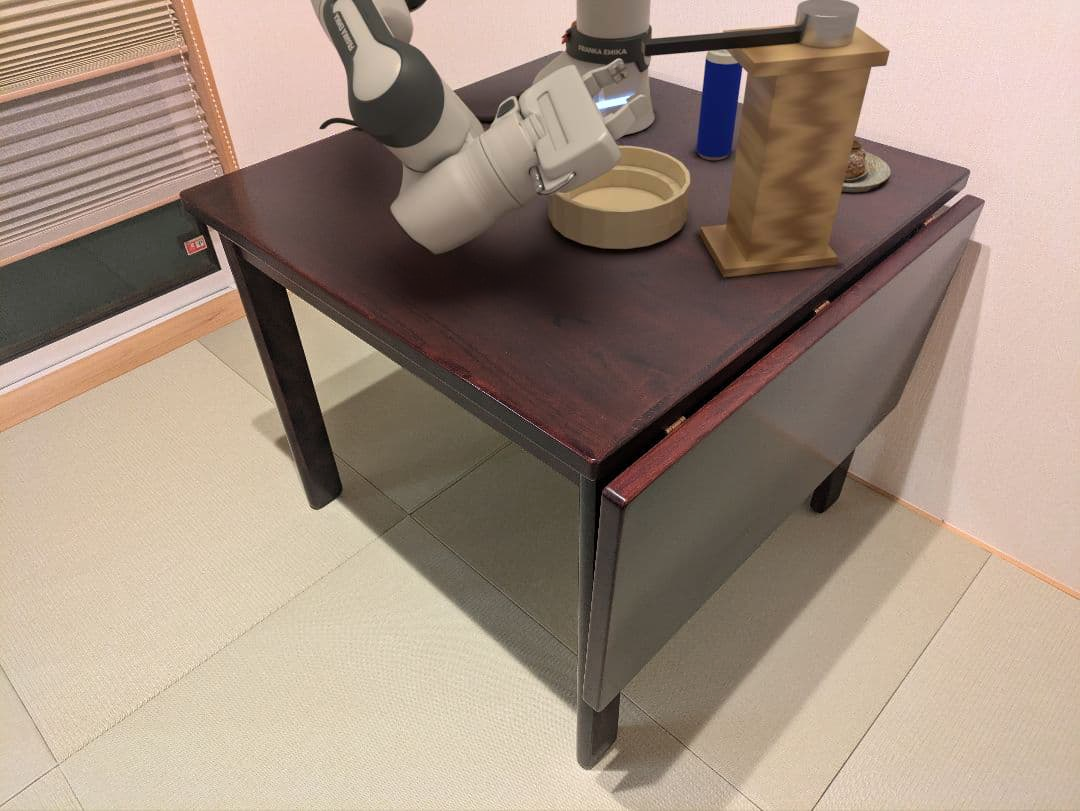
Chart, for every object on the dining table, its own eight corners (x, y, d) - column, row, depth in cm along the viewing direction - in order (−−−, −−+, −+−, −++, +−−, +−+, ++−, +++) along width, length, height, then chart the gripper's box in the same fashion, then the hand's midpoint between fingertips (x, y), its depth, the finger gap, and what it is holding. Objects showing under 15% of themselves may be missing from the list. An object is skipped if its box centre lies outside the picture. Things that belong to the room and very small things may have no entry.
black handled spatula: (837, 26, 84) (844, -4, 82) (862, 45, 80) (869, 14, 78) (636, 44, 83) (637, 13, 81) (650, 64, 78) (651, 32, 76)
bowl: (527, 238, 103) (524, 196, 99) (579, 177, 115) (579, 137, 111) (661, 265, 97) (665, 222, 93) (702, 198, 109) (706, 157, 105)
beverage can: (734, 149, 120) (748, 46, 110) (725, 163, 116) (739, 58, 106) (701, 144, 121) (712, 42, 111) (691, 158, 118) (702, 54, 108)
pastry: (784, 176, 113) (790, 145, 110) (827, 147, 119) (834, 117, 116) (862, 202, 106) (871, 170, 103) (903, 171, 113) (913, 140, 110)
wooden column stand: (723, 277, 95) (754, 62, 78) (699, 235, 102) (722, 30, 85) (835, 265, 96) (890, 50, 79) (804, 224, 103) (847, 19, 86)
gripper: (521, 177, 76) (646, 94, 73) (499, 96, 91) (601, 24, 88) (554, 224, 80) (674, 148, 77) (528, 139, 95) (627, 72, 92)
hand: (635, 81), depth 82 cm, fingers open, 8 cm apart
